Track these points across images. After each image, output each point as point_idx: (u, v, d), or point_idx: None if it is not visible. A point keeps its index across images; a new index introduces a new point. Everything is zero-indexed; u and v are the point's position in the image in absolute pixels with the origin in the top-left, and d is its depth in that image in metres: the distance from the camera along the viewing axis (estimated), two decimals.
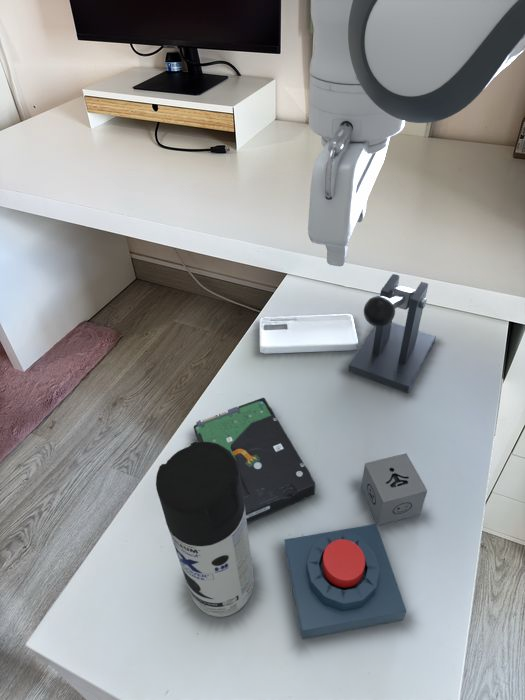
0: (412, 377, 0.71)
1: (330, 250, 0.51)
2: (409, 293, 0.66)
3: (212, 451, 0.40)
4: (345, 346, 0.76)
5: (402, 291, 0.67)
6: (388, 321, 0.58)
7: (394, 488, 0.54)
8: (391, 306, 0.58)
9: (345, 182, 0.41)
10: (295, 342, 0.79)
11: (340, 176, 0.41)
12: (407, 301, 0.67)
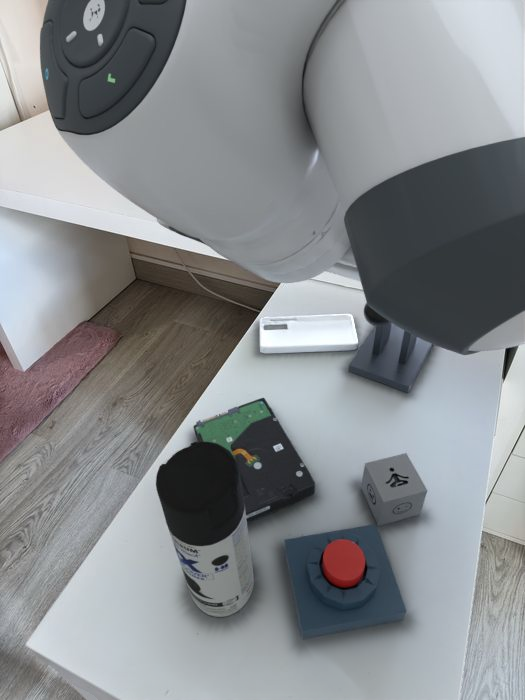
0: (412, 377, 0.71)
1: None
2: None
3: (212, 451, 0.40)
4: (345, 346, 0.76)
5: None
6: (388, 321, 0.58)
7: (394, 488, 0.54)
8: None
9: None
10: (295, 342, 0.79)
11: None
12: None
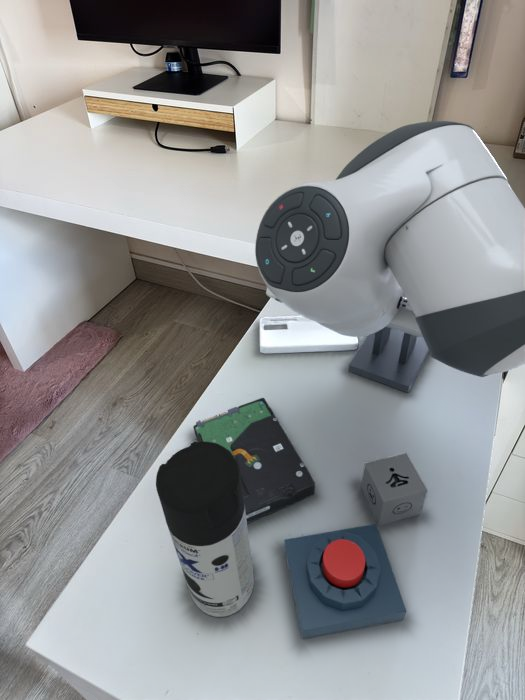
0: (412, 377, 0.71)
1: None
2: None
3: (212, 451, 0.40)
4: (345, 346, 0.76)
5: None
6: None
7: (394, 488, 0.54)
8: None
9: None
10: (295, 342, 0.79)
11: None
12: None
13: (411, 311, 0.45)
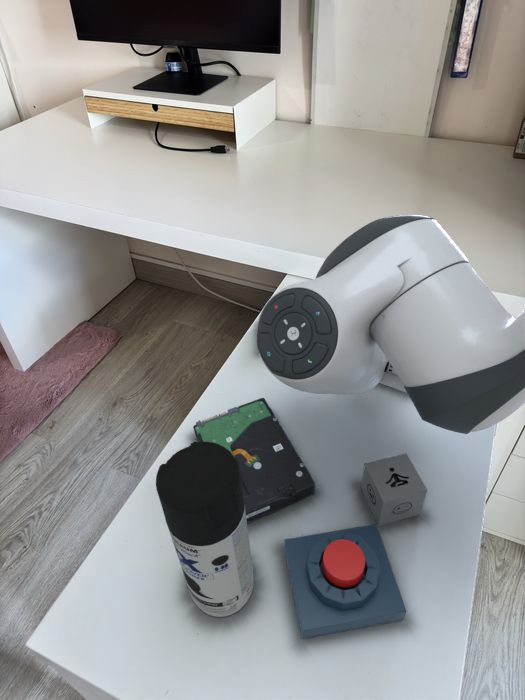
0: None
1: None
2: None
3: (212, 451, 0.40)
4: None
5: None
6: None
7: (394, 488, 0.54)
8: None
9: None
10: None
11: None
12: None
13: (397, 375, 0.50)
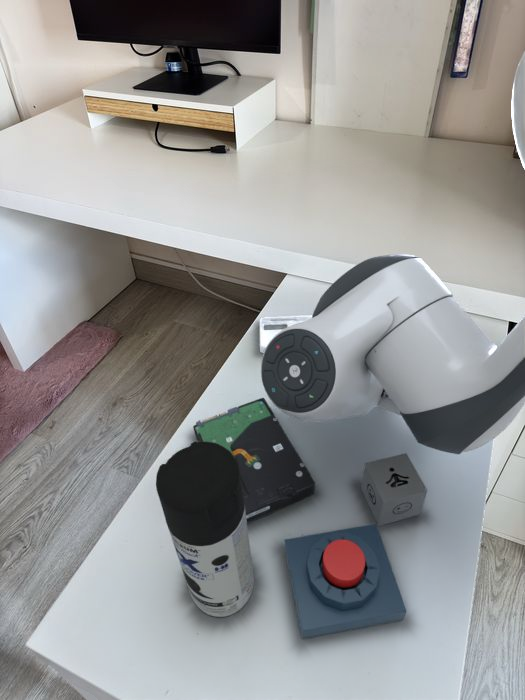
0: None
1: None
2: None
3: (212, 451, 0.40)
4: None
5: None
6: None
7: (394, 488, 0.54)
8: None
9: None
10: None
11: None
12: None
13: (393, 400, 0.53)
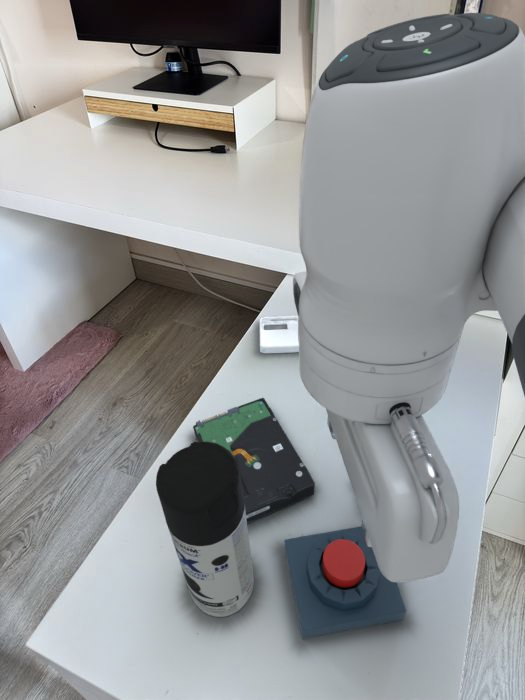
0: None
1: None
2: None
3: (212, 451, 0.40)
4: None
5: None
6: None
7: None
8: None
9: (453, 515, 0.25)
10: (295, 341, 0.79)
11: None
12: None
13: (400, 428, 0.26)
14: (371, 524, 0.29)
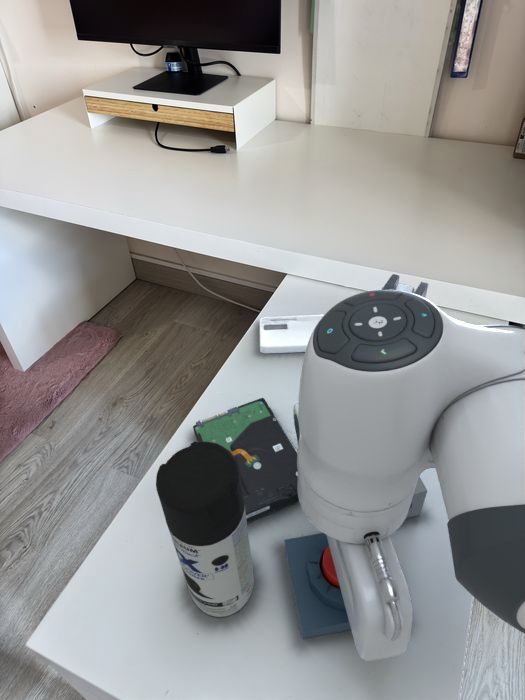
0: None
1: None
2: None
3: (212, 451, 0.40)
4: None
5: None
6: None
7: None
8: None
9: (407, 618, 0.34)
10: (295, 341, 0.79)
11: (401, 615, 0.34)
12: None
13: (371, 553, 0.35)
14: (350, 614, 0.38)
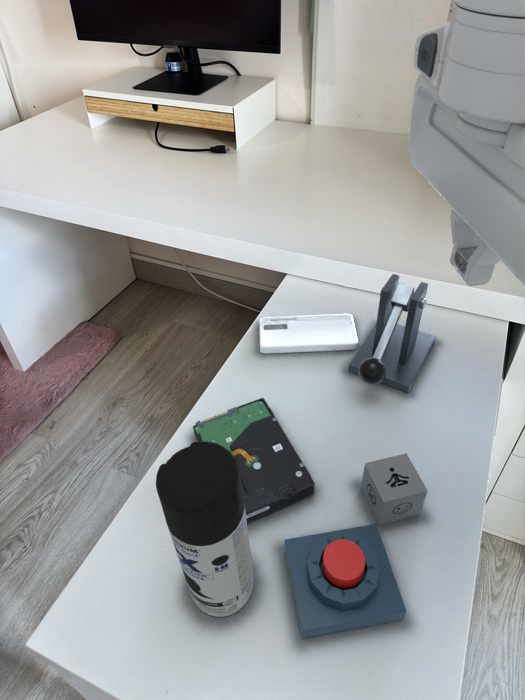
0: (412, 377, 0.71)
1: (476, 265, 0.35)
2: (405, 305, 0.67)
3: (212, 451, 0.40)
4: (345, 345, 0.76)
5: (398, 303, 0.67)
6: None
7: (394, 488, 0.54)
8: (379, 375, 0.65)
9: None
10: (295, 341, 0.79)
11: None
12: (406, 308, 0.68)
13: None
14: None
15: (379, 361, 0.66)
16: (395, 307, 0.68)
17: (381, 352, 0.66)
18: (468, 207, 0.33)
